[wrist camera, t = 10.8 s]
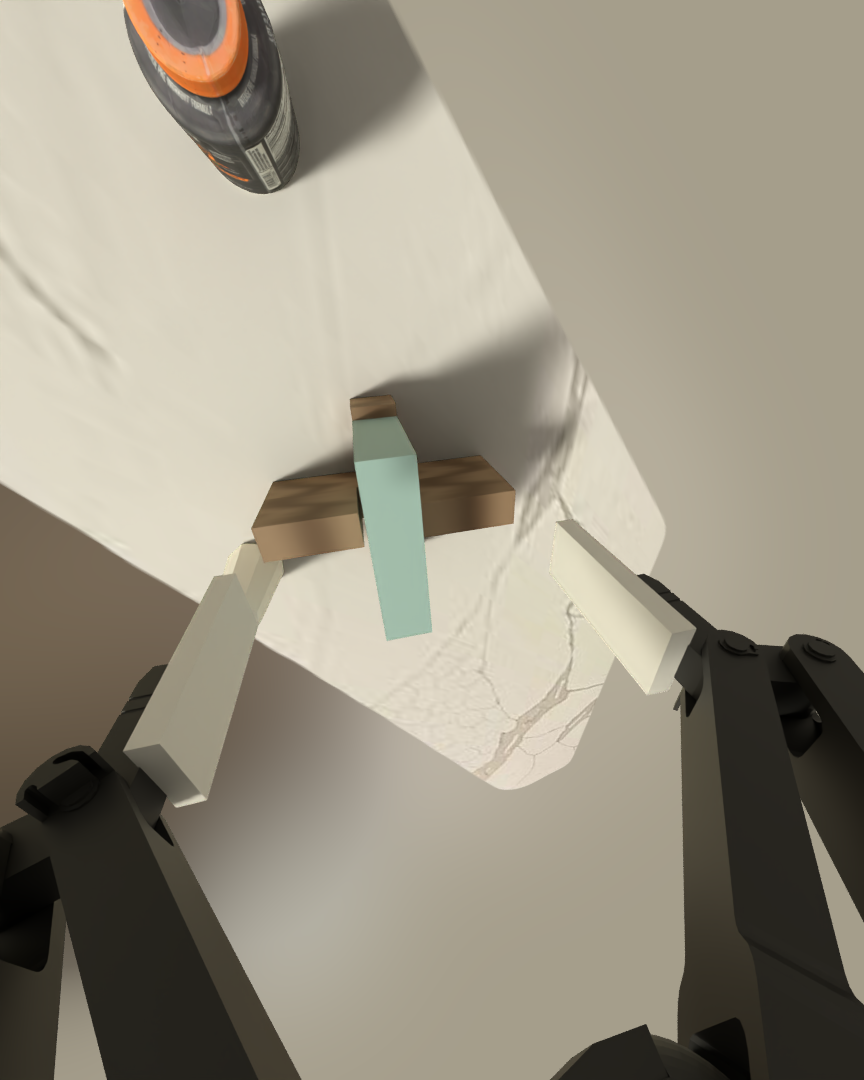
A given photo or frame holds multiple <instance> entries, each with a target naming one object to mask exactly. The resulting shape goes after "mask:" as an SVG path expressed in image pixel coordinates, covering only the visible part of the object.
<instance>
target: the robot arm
mask: <svg viewBox="0 0 864 1080" xmlns="http://www.w3.org/2000/svg"><path fill="white" fill-rule="evenodd" d="M549 573H550V575H551V576H552V577H553V578H554V580H555V581H556V582H557V583H558V585H559V586H560V587H561V588H562V590H563V591H564V592H565V593H566V595H567V596H568V597H569V598H570V600H571V601H572V602H573V603H574V605H575V606H576V607H577V608H578V610H579V611H580V612H581V613H582V615H583V616H584V617H585V618H586V620H587V621H588V622H589V623H590V625H591V626H592V627H593V628H594V630H595V631H596V632H597V633H598V635H599V636H600V637H601V638H602V640H603V641H604V642H605V643H606V645H607V646H608V647H609V648H610V650H611V651H612V652H613V653H614V655H615V656H616V657H617V658H618V660H619V661H620V662H621V663H622V665H623V666H624V667H625V668H626V669H627V671H628V672H629V673H630V675H631V676H632V677H633V678H634V680H635V681H636V682H637V683H638V685H639V686H640V687H641V688H642V690H643V691H644V692H645V693H646V695H652V694H656V693H660V692H664V691H668V690H669V689H670V687H671V684H672V682H673V680H674V678H675V679H676V680H677V681H678V682H679V683H680V684H681V685H682V686H683V688H682V690H681V692H680V694H679V696H678V698H677V701H676V703H675V705H674V708H673V709H674V710H676V711H677V710H678V708H679V706H680V707H681V758H682V759H681V760H682V761H681V762H682V811H683V814H682V815H683V861H684V862H683V865H684V866H683V867H684V919H685V967H684V973H683V978H682V981H681V985H680V990H679V998H678V1043H676V1042H674V1041H672V1040H669V1039H666V1038H663V1037H660V1036H656V1035H651V1034H650V1032H649V1030H648V1027H647V1025H646V1024H645V1025H642V1026H639V1027H637V1028H634V1029H632V1030H629V1031H626V1032H623V1033H621V1034H618V1035H615V1036H613V1037H610V1038H607V1039H605V1040H602V1041H599V1042H596V1043H594V1044H592V1045H591V1046H589V1047H588V1048H586V1049H584V1050H583V1051H581V1052H580V1053H578V1054H577V1055H575V1056H574V1057H572V1058H571V1059H570V1060H569V1061H568V1062H567V1063H566V1064H565V1065H564V1066H563V1067H562V1068H561V1069H560V1070H559V1071H558V1072H557V1073H556V1074H555V1075H554V1076H553V1078H551V1079H550V1080H864V1005H863V1004H862V1003H861V1002H860V1001H859V1000H858V999H857V998H856V997H855V996H854V994H853V992H852V990H851V988H850V987H849V984H848V981H847V978H846V975H845V972H844V968H843V964H842V960H841V956H840V953H839V948H838V945H837V941H836V936H835V933H834V929H833V925H832V921H831V917H830V913H829V909H828V905H827V901H826V897H825V893H824V889H823V885H822V882H821V878H820V874H819V870H818V866H817V862H816V858H815V854H814V850H813V846H812V843H811V838H810V835H809V830H808V827H807V823H806V819H805V815H804V811H803V807H802V803H801V800H802V802H803V804H804V806H805V808H806V810H807V812H808V814H809V816H810V818H811V820H812V822H813V824H814V826H815V828H816V829H817V832H818V834H819V836H820V837H821V839H822V841H823V843H824V845H825V847H826V849H827V851H828V853H829V855H830V857H831V859H832V861H833V863H834V865H835V867H836V869H837V871H838V873H839V874H840V877H841V878H842V881H843V882H844V884H845V886H846V888H847V890H848V892H849V894H850V896H851V898H852V900H853V902H854V904H855V906H856V908H857V910H858V912H859V914H860V916H861V918H862V920H863V922H864V673H863V672H862V671H861V670H860V668H859V667H858V666H857V665H856V664H855V662H854V661H853V660H852V659H851V658H850V657H849V656H848V655H847V654H846V653H845V652H844V651H843V650H842V649H841V648H839V647H837V646H835V645H834V644H832V643H830V642H828V641H826V640H823V639H821V638H818V637H814V636H810V635H803V634H802V635H801V634H796V635H793V636H791V637H789V639H788V640H787V642H786V644H785V645H784V646H768V645H756V644H755V643H754V642H753V641H752V640H750V639H748V638H746V637H745V636H743V635H740V634H738V633H735V632H732V631H726V630H717V629H716V628H714V627H713V626H712V625H711V624H710V623H708V622H707V621H706V620H705V619H704V618H702V617H701V616H700V615H699V614H698V613H696V612H695V611H694V610H693V609H692V608H690V607H689V606H688V605H687V604H686V603H684V602H683V601H680V598H678V597H677V596H676V595H675V594H674V593H671V592H670V590H669V589H667V588H666V587H665V586H664V585H663V584H662V583H660V582H659V581H657V580H655V579H653V578H651V577H649V576H647V575H645V574H641V575H636V574H634V573H633V572H632V571H631V570H630V569H629V568H628V567H626V566H625V565H624V564H623V563H622V562H621V561H620V560H618V559H617V558H616V557H615V556H614V555H613V554H612V553H611V552H609V551H608V550H607V549H606V548H605V547H604V546H603V545H601V544H600V543H599V542H598V541H597V540H596V539H595V538H593V537H592V536H591V535H590V534H589V533H588V532H587V531H586V530H584V529H583V528H582V527H581V526H580V525H579V524H578V523H576V522H575V521H574V520H573V519H571V520H564V521H558V522H556V527H555V534H554V541H553V549H552V556H551V564H550V571H549ZM257 628H258V624H257V621H256V619H255V617H254V615H253V612H252V610H251V608H250V605H249V603H248V601H247V599H246V596H245V594H244V592H243V589H242V587H241V585H240V583H239V580H238V578H237V576H236V573H233V574H227V575H221V576H215V577H214V578H213V580H212V582H211V584H210V585H209V587H208V589H207V591H206V593H205V595H204V597H203V599H202V601H201V603H200V605H199V607H198V609H197V610H196V612H195V614H194V616H193V618H192V620H191V622H190V624H189V626H188V628H187V629H186V631H185V633H184V635H183V637H182V639H181V641H180V643H179V645H178V647H177V649H176V651H175V653H174V654H173V656H172V658H171V660H170V662H169V664H166V665H160V666H155V667H153V668H152V669H151V670H150V671H149V672H148V673H147V674H146V675H145V676H144V677H143V678H142V679H141V680H140V681H139V682H138V684H137V686H136V687H135V689H134V691H133V692H132V694H131V696H130V698H129V701H127V703H126V704H125V706H124V708H123V710H122V711H121V712H122V714H121V715H119V717H118V718H117V720H116V722H115V723H114V725H113V727H112V729H111V730H110V732H109V734H108V735H107V737H106V739H105V741H104V742H103V744H102V746H101V748H100V749H99V751H98V753H97V752H96V751H95V750H94V749H93V748H91V747H90V746H82V745H79V746H76V747H72V748H69V749H66V750H64V751H62V752H60V753H58V754H56V755H54V756H53V757H51V758H50V759H48V760H47V761H46V762H45V763H43V764H42V765H40V766H39V767H38V768H37V769H36V770H35V771H34V772H33V773H32V774H31V775H30V776H29V777H28V778H27V779H26V780H25V781H24V783H23V785H22V786H21V788H20V790H19V791H18V793H17V797H16V805H17V806H18V807H19V808H21V809H23V810H24V811H25V812H27V813H28V815H26V816H24V817H21V818H19V819H17V820H15V821H13V822H11V823H9V824H7V825H5V826H3V827H1V828H0V1080H54V1069H55V1055H56V1043H57V1042H56V1041H57V1030H58V1018H59V1005H60V991H61V979H62V966H63V954H64V953H63V952H64V941H65V928H66V921H67V925H68V929H69V933H70V937H71V941H72V945H73V949H74V952H75V956H76V960H77V964H78V968H79V972H80V976H81V980H82V984H83V988H84V992H85V995H86V999H87V1003H88V1007H89V1011H90V1015H91V1018H92V1023H93V1027H94V1031H95V1034H96V1038H97V1042H98V1046H99V1050H100V1054H101V1058H102V1062H103V1066H104V1070H105V1073H106V1077H107V1080H301V1078H300V1076H299V1074H298V1072H297V1070H296V1068H295V1067H294V1064H293V1063H292V1061H291V1059H290V1057H289V1055H288V1053H287V1051H286V1049H285V1047H284V1045H283V1043H282V1042H281V1040H280V1038H279V1036H278V1034H277V1032H276V1030H275V1028H274V1026H273V1024H272V1022H271V1021H270V1019H269V1017H268V1015H267V1013H266V1011H265V1009H264V1007H263V1005H262V1003H261V1001H260V1000H259V998H258V996H257V994H256V992H255V990H254V988H253V986H252V984H251V982H250V980H249V978H248V977H247V975H246V973H245V971H244V969H243V967H242V965H241V963H240V961H239V959H238V957H237V956H236V954H235V952H234V950H233V948H232V946H231V944H230V942H229V940H228V938H227V936H226V935H225V933H224V931H223V929H222V927H221V925H220V923H219V921H218V919H217V917H216V915H215V913H214V912H213V910H212V908H211V906H210V904H209V902H208V900H207V898H206V896H205V894H204V893H203V891H202V889H201V887H200V885H199V883H198V881H197V879H196V877H195V875H194V873H193V871H192V870H191V868H190V866H189V864H188V862H187V860H186V858H185V856H184V854H183V852H182V851H181V849H180V847H179V845H178V843H177V841H176V839H175V837H174V835H173V833H172V831H171V829H170V828H169V826H168V824H167V822H166V820H165V819H164V818H163V816H162V815H161V814H160V813H161V810H162V808H163V805H164V802H165V800H166V797H167V798H168V799H169V800H170V801H171V802H172V804H173V805H174V806H175V807H180V806H184V805H189V804H192V803H197V802H201V801H205V800H207V798H208V795H209V791H210V788H211V784H212V781H213V778H214V774H215V771H216V768H217V764H218V761H219V757H220V753H221V750H222V747H223V744H224V740H225V737H226V733H227V730H228V726H229V723H230V720H231V716H232V713H233V710H234V706H235V703H236V699H237V696H238V693H239V689H240V686H241V682H242V679H243V676H244V672H245V669H246V665H247V662H248V659H249V655H250V652H251V648H252V645H253V641H254V638H255V635H256V631H257ZM816 711H817V713H818V714H819V716H820V717H819V716H818V714H817V713H816ZM800 798H801V799H800Z"/></svg>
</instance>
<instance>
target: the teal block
mask: <svg viewBox="0 0 864 1080" xmlns="http://www.w3.org/2000/svg"><path fill="white" fill-rule="evenodd" d="M352 425H353V449H354V465H355V470H356V476H357V481H358V487H359V492H360V498H361V503H362V508H363V514H364V519H365V525H366V530H367V536H368V541H369V547H370V552H371V558H372V563H373V568H374V574H375V579H376V585H377V590H378V596H379V601H380V607H381V612H382V618H383V623H384V628H385V634H386V639H387V641H389V640H394V639H399V638H404V637H409V636H414V635H420V634H425V633H430V632H432V624H431V613H430V601H429V590H428V579H427V567H426V556H425V544H424V533H423V522H422V510H421V499H420V488H419V476H418V465H417V454H416V452H415V450H414V449H413V447H412V445H411V443H410V441H409V439H408V437H407V435H406V433H405V431H404V429H403V427H402V425H401V423H400V421H399V420H398V418H397V416H392V417H383V418H374V419H364V420H355V421H352Z"/></svg>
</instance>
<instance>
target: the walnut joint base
mask: <svg viewBox="0 0 864 1080" xmlns="http://www.w3.org/2000/svg"><path fill="white" fill-rule="evenodd" d="M350 409H351V415H352V420H353V421H355V420H364V419H374V418H383V417H392V416H397V412H396V403H395V402H394V400H393V398H392V397H391V395H384V396H374V397H364V398H355V399H350ZM417 465H418V476H419V488H420V499H421V510H422V522H423V533H424V537H431V536H437V535H443V534H450V533H456V532H463V531H469V530H475V529H482V528H488V527H494V526H501V525H507V524H513V522H514V506H515V489H514V488H513V487H512V486H511V485H510V484H509V483H508V482H507V481H506V480H505V479H504V478H503V477H502V476H501V475H500V474H499V473H498V472H497V471H496V470H495V469H494V468H493V467H492V466H491V465H490V464H489V463H488V462H487V461H486V460H485V459H484V458H483V457H482V456H481V455H479V456H471V457H463V458H456V459H448V460H440V461H432V462H425V463H417ZM362 518H364V514H363V508H362V503H361V498H360V492H359V487H358V481H357V476H356V471H355V472H347V473H340V474H332V475H324V476H316V477H309V478H301V479H293V480H285V481H278V482H273V483H272V485H271V488H270V490H269V492H268V494H267V496H266V498H265V500H264V502H263V505H262V507H261V509H260V511H259V513H258V515H257V517H256V519H255V522H254V524H253V526H252V528H251V530H252V532H253V535H254V538H255V540H256V543H257V545H258V548H259V551H260V553H261V556H262V559H263V561H264V563H266V562H272V561H278V560H285V559H291V558H297V557H304V556H310V555H316V554H323V553H329V552H335V551H342V550H348V549H355V548H361V547H364V536H363V522H362Z"/></svg>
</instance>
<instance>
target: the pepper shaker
mask: <svg viewBox="0 0 864 1080" xmlns="http://www.w3.org/2000/svg"><path fill="white" fill-rule="evenodd" d="M233 573H236V576H237V578H238V580H239V583H240V585H241V587H242V589H243V592H244V594H245V596H246V599H247V601H248V603H249V605H250V608H251V610H252V612H253V615H254V617H255V619H256V621H257V624H258V625H259V624H260V622H261V620H262V618H263V616H264V614H265V612H266V609H267V607H268V605H269V603H270V601H271V599H272V596H273V594H274V592H275V590H276V588H277V586H278V583H279V581H280V579H281V577H282V575H283V573H284V570H283V562H282V560H278V561H272V562H266V563H264V561H263V559H262V556H261V553H260V551H259V548H258V545H257V544H241V545H240V546H239V547H238V548H237V549H236V550H235V551H234V552H233V553H232V554H231V555H230V556H229V557H228V560H227V563H226V566H225V570H224V573H223V575H227V574H233Z"/></svg>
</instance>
